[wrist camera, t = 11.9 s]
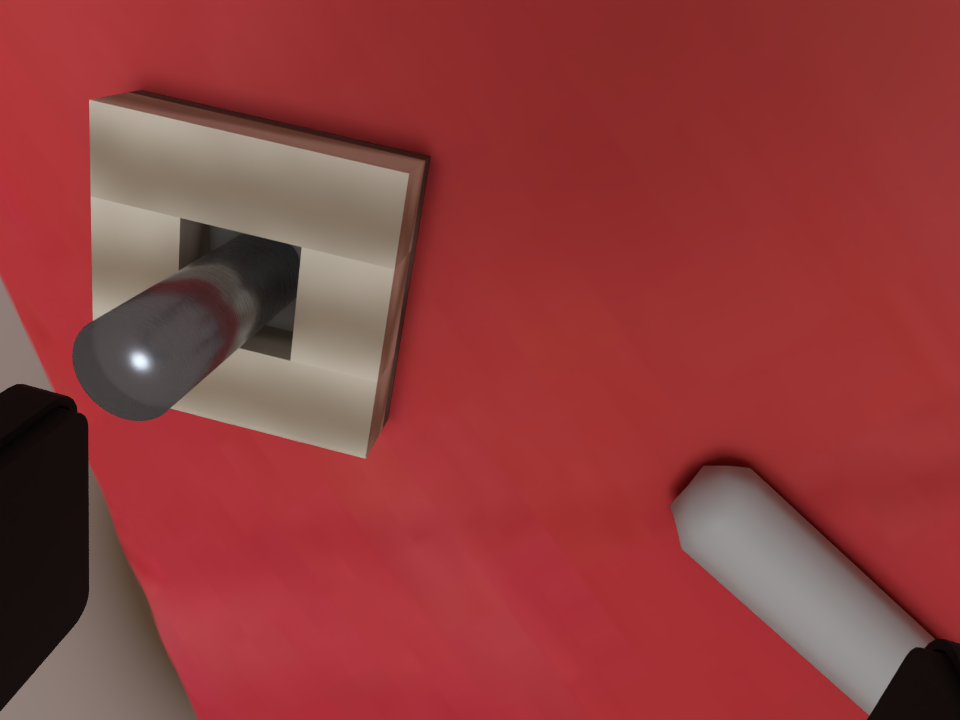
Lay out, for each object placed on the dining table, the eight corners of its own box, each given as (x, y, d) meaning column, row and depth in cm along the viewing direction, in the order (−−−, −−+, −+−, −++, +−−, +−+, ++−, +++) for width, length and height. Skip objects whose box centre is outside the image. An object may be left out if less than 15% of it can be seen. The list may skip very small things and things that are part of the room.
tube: (639, 544, 39) (977, 841, 43) (725, 503, 36) (1085, 832, 39) (662, 469, 43) (969, 747, 47) (741, 426, 39) (1067, 731, 43)
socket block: (140, 90, 38) (89, 99, 34) (430, 156, 37) (409, 173, 33) (137, 356, 44) (94, 388, 40) (387, 419, 43) (365, 458, 39)
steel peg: (227, 220, 39) (71, 304, 28) (307, 240, 38) (180, 332, 28) (222, 298, 40) (73, 405, 30) (299, 317, 40) (177, 432, 29)
